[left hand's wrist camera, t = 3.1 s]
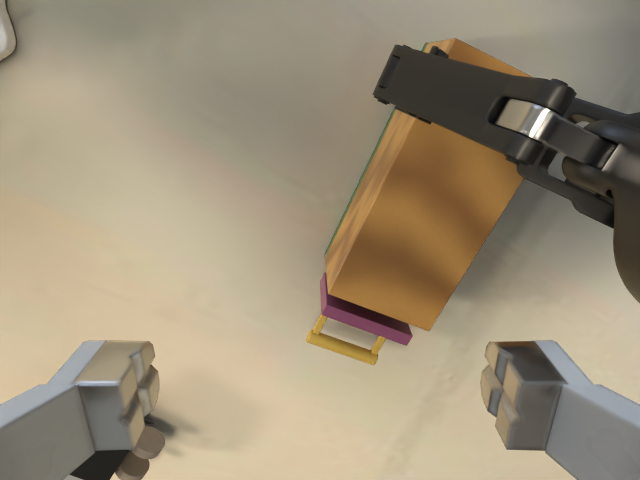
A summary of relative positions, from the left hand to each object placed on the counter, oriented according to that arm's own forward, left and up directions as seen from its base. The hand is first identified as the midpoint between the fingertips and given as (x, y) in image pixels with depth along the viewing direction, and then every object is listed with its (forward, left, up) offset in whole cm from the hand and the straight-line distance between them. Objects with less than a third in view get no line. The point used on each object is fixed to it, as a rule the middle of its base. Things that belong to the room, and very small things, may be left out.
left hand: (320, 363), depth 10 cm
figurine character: (-40, -8, -32) cm, 52 cm away
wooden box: (+5, -9, -32) cm, 34 cm away
